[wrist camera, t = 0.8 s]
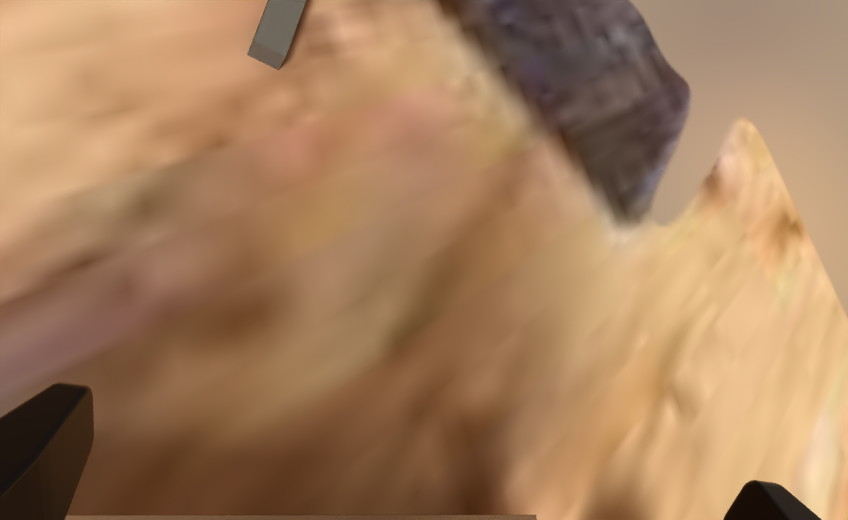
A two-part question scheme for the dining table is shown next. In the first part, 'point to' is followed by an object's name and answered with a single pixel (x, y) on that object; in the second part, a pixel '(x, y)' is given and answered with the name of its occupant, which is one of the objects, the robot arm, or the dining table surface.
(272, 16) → the door handle
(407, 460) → the dining table surface
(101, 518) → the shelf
